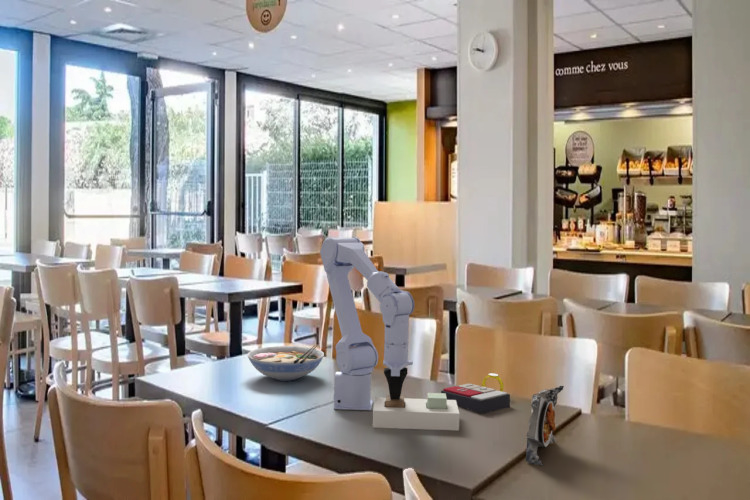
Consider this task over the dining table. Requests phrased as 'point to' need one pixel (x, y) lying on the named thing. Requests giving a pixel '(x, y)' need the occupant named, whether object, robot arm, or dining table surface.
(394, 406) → the walnut key
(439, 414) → the key panel
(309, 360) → the ramen bowl
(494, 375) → the watch
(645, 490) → the dining table surface
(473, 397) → the calculator
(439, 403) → the sage key
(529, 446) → the meal
